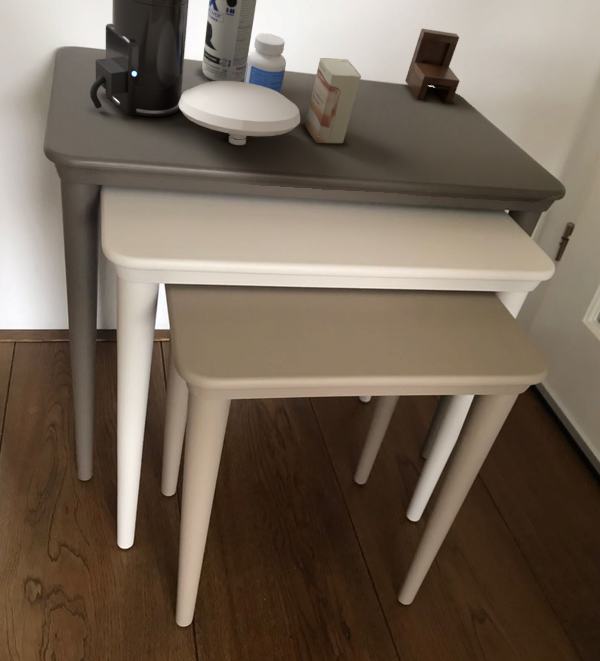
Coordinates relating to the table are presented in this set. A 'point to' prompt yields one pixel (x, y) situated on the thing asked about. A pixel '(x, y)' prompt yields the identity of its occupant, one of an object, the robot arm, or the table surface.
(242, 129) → the white domed disc
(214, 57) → the spray can
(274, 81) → the pill bottle
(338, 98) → the cream cosmetic box
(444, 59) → the miniature wooden chair
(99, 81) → the robot arm
